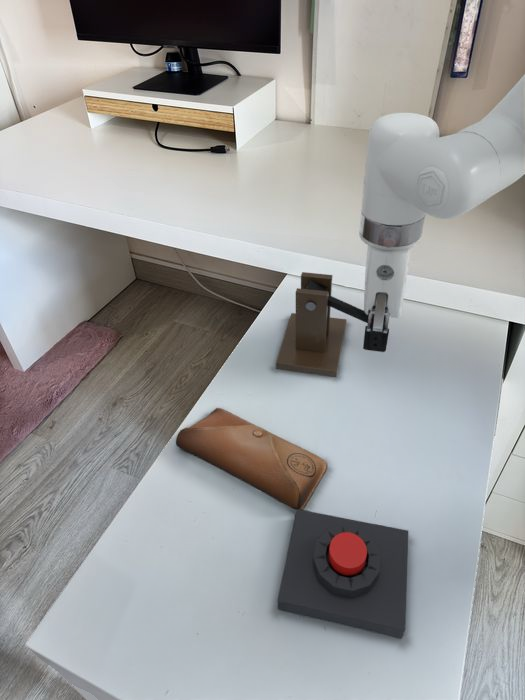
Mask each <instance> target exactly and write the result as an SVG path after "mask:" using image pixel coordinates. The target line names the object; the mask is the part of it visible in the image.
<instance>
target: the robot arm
mask: <svg viewBox="0 0 525 700" xmlns="http://www.w3.org/2000/svg"><path fill="white" fill-rule="evenodd" d="M364 166H365V167H364V177H363V189H362V198H361V199H362V200H361V210H360V220H359V231H358V234H359V238H360V240H361V242H363V243H364V244H366V245H367V249H366V259H365V273H364V293H363V311H364V312H365V313H366V314H367V315H368V314H369V316H368V323H366V325H365V327H364V335H363V345H362V349H363V350H364V351H371V352H379V353H385V352H386V351H387V345H388V340H389V333H390V328H389V324H390V317H391V318H393V319H399V318H400V317H401V316H402V311H403V304H404V298H405V292H406V285H407V280H408V275H409V274H408V273H409V266H410V260H411V253H412V248H414V247H415V246H417V245H418V244H419V243H420V242H421V240H422V234H423V228H424V224H425V219H426V214H427V215H428V216H430V217H433V218H436V219H440V220H451V219H452V220H453V219H455V218H459V217H461V216H463V215H465V214H467V213H468V212H470V211H472V210H473V209H475V208H476V207H478V206H479V205H481V204H483V203H485V202H486V201H487V200H488V199H490V198H491V197H493V196H495V195H496V194H498V193H499V192H501V191H503V190H504V189H506V188H508V187H509V186H511V185H513V184H514V183H515V182H517V181H518V180H520V179H521V178H522V177H523V176H524V175H525V73H524V74H523V76H521V78H520V79H519V80H518V82H516V84H514V86H513V87H512V88H511V89H510V90H509V91H508V92H507V93H506V94H505V95H504V96H503V98H502V99H501V100H500V101H499V102H498V103H497V104H496V105H495V106H494V107H493V108H492V109H491V110H490V111H489V113H487V114H486V115H485V116H484V117H483V118H482V119H480V121H478V122H475V123H473V124H471V125H469V126H467V127H464V128H462V129H461V130H459V131H457V132H455V133H453V134H449V135H443V136H440V127H439V126H438V123H437V122H436V121H435V120H434V119H433V118H431V117H429V116H426V115H424V114H420V113H416V112H393V113H389V114H385V115H381V116H380V117H378V118H377V119H376V120H375V121H374V122H373V123H372V124H371V126H370V128H369V131H368V136H367V144H366V155H365V165H364ZM372 315H375V316H374V322H373V321H372Z"/></svg>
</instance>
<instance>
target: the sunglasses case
mask: <svg viewBox="0 0 525 700" xmlns="http://www.w3.org/2000/svg"><path fill="white" fill-rule="evenodd" d="M175 445H176V447H177V448H179V449H181V450H182V451H183V452H185V453H188V454H189V455H191V456H193V457H196V458H198V459H200V460H201V461H204V462H205V463H208V464H209V465H211V466H213V467H215V468H217V469H219V470H221V471H223V472H225V473H227V474H229V475H230V476H232V477H234V478H236V479H238V480H240V481H242V482H243V483H245V484H246V485H249V486H250V487H252V488H255V489H256V490H258V491H260V492H261V493H263V494H266V495H267V496H269V497H270V498H272V499H274V500H276V502H277V501H278V502H279V503H281V504H283V505H285V506H287V507H289V508H290V509H292V510H295V511H296V510H297V509H300V510H304V509H305V507H306V506H307V505H308V503H309V501H310V500H311V498H312V496H313V495H314V493H315V491H316V489H317V488H318V487H319V484H320V482H321V480H322V478H323V477H324V475H325V474H326V471H327V470H328V461H326V460H325V459H323V458H321V457H320V456H318V455H317V454H315V453H313V452H310V451H309V450H307V449H305V448H303V447H301V446H298V445H297V444H295V443H293V442H290V441H288V440H286V439H284V438H282V437H281V436H278V435H276V434H274V433H272V432H270V431H268V430H266V429H264V428H263V427H260V426H257V425H256V424H254V423H252V422H250V421H247V420H246V419H244V418H242V417H239V416H238V415H236V414H234V413H232V412H230V411H228V410H227V409H223V408H221V407H216V408H214V410H212V411H211V412H210V413H209V414H208V415H207V416H205V417H204V418H202V419H201V420H199V421H197V422H195V423H193V424H192V425H191V426H187V427H184V428H182V429H180V430H179V432H178V433H177V435H176V437H175Z"/></svg>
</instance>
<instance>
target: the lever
mask: <svg viewBox="0 0 525 700" xmlns="http://www.w3.org/2000/svg"><path fill="white" fill-rule="evenodd" d="M327 288H328V287H326V286H323V285H321V284H319V283H317V282H314V281H312V280H309V282H308V284H307V285H306V287H305V289H309V290H319V291H327ZM328 306H330V307H331V308H332V309H335V310H337V311H339V312H341V313H344V314H345V315H348V316H350V317H352V318H355V319H357V320H360V321H362V322H363V323H366V324H368V316H369V314H368V315H367V314H366V313H365V312H364V309H361V308H360V307H357V306H355V305H352V304H351V303H349V302H345V301H344V300H341V299H339V298H338V297H337V298H336V297H334V296H333V295H331V296H330V295H328ZM374 316H375V315H372V321H373V322H374Z"/></svg>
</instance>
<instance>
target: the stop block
mask: <svg viewBox="0 0 525 700" xmlns="http://www.w3.org/2000/svg"><path fill="white" fill-rule="evenodd" d="M344 532H349V533H353V534H355V535H357V536H359V537H360V538H361V539H362V540H363V542H364V543H365V545H366V548H367V556H366V561H365V565H364V567H363V569H362V570H361V571H360V572H359V573H358V574H356V575H352V576H346V575H342V574H340V573H338V572H337V571H335V570H334V569H333V567H332V566H331V564H330V562H329V547H330V543H331V541H332V539H333V538H334V537H335V536H336V535H338V534H340V533H344ZM408 556H409V530H407V529H402V528H396V527H392V526H387V525H382V524H376V523H373V522H372V523H371V522H366V521H361V520H356V519H351V518H345V517H340V516H335V515H331V514H325V513H319V512H315V511H309V510H304V509H303V510H300V509H297V510H295V515H294V520H293V525H292V530H291V535H290V539H289V543H288V549H287V554H286V558H285V563H284V568H283V573H282V577H281V582H280V587H279V591H278V596H277V610H279V611H283V612H287V613H292V614H297V615H299V616H305V617H308V618H313V619H317V620H320V621H321V620H322V621H326V622H330V623H334V624H338V625H343V626H345V627H351V628H355V629H359V630H363V631H367V632H368V631H369V632H372V633H376V634H380V635H383V636H384V635H385V636H389V637H392V638H398V639H403V637H404V634H405V631H406V617H407V616H406V613H407V585H408V584H407V583H408V559H409V558H408Z"/></svg>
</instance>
